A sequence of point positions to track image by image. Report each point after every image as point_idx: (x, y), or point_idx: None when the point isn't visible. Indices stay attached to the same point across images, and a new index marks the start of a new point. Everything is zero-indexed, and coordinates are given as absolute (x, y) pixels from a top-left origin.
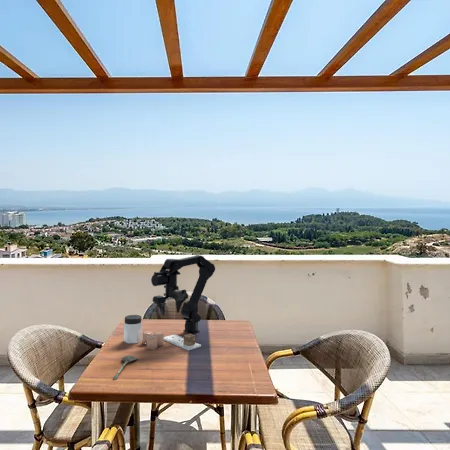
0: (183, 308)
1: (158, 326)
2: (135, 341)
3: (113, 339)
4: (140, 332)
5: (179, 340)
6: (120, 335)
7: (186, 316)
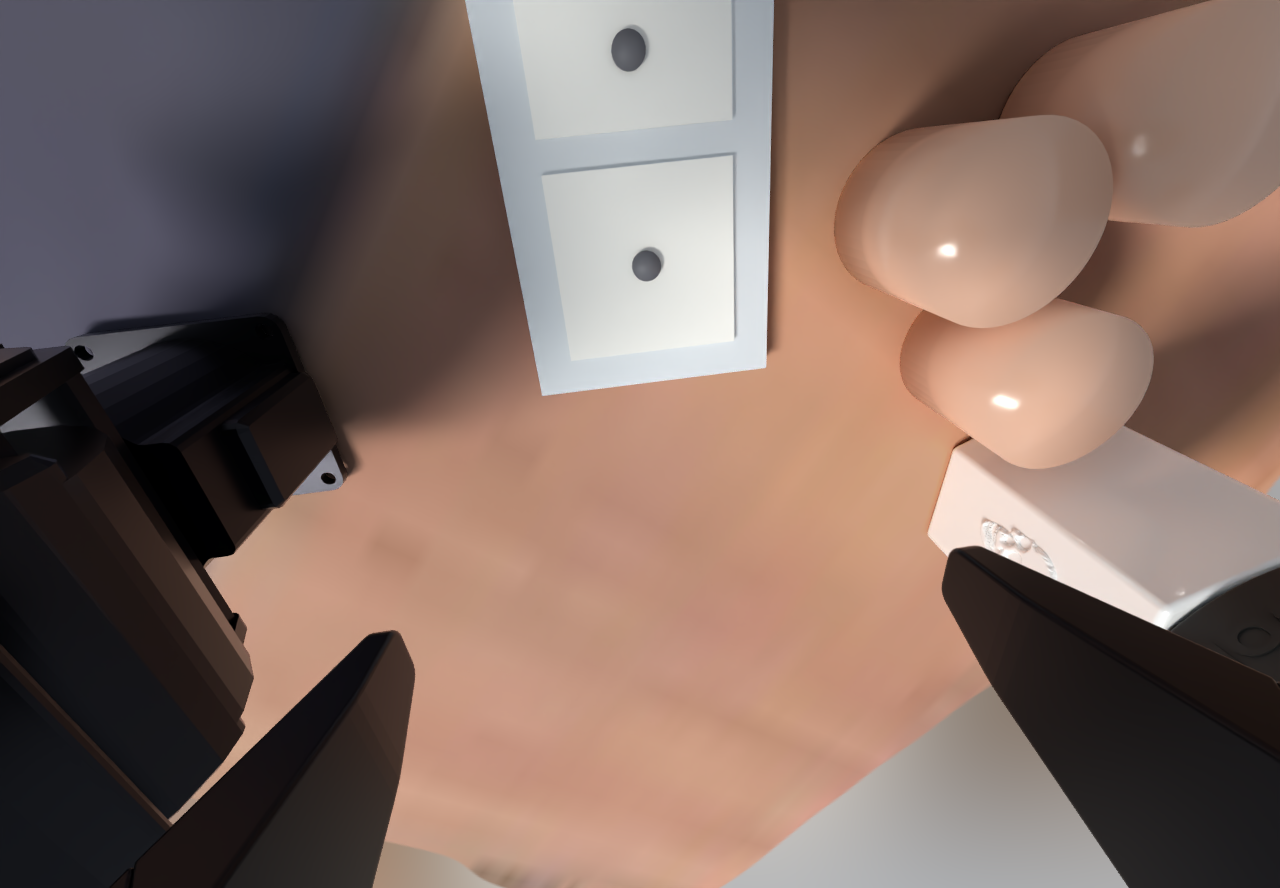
0: (75, 829)
1: (547, 727)
2: None
3: None
4: (1077, 484)
5: (639, 36)
6: (973, 660)
7: (157, 532)
